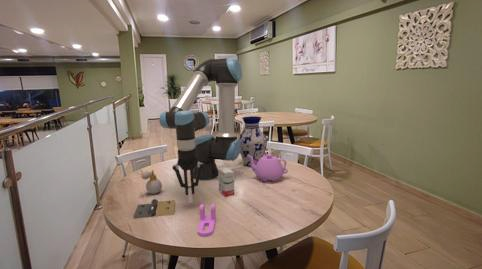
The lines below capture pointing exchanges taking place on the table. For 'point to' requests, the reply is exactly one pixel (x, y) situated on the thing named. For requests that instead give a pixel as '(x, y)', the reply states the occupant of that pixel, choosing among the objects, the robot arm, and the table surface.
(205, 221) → the bracket
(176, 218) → the table surface
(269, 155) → the teapot
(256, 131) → the vase
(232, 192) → the ink box
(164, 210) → the plate
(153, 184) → the perfume bottle
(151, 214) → the steel leaf
